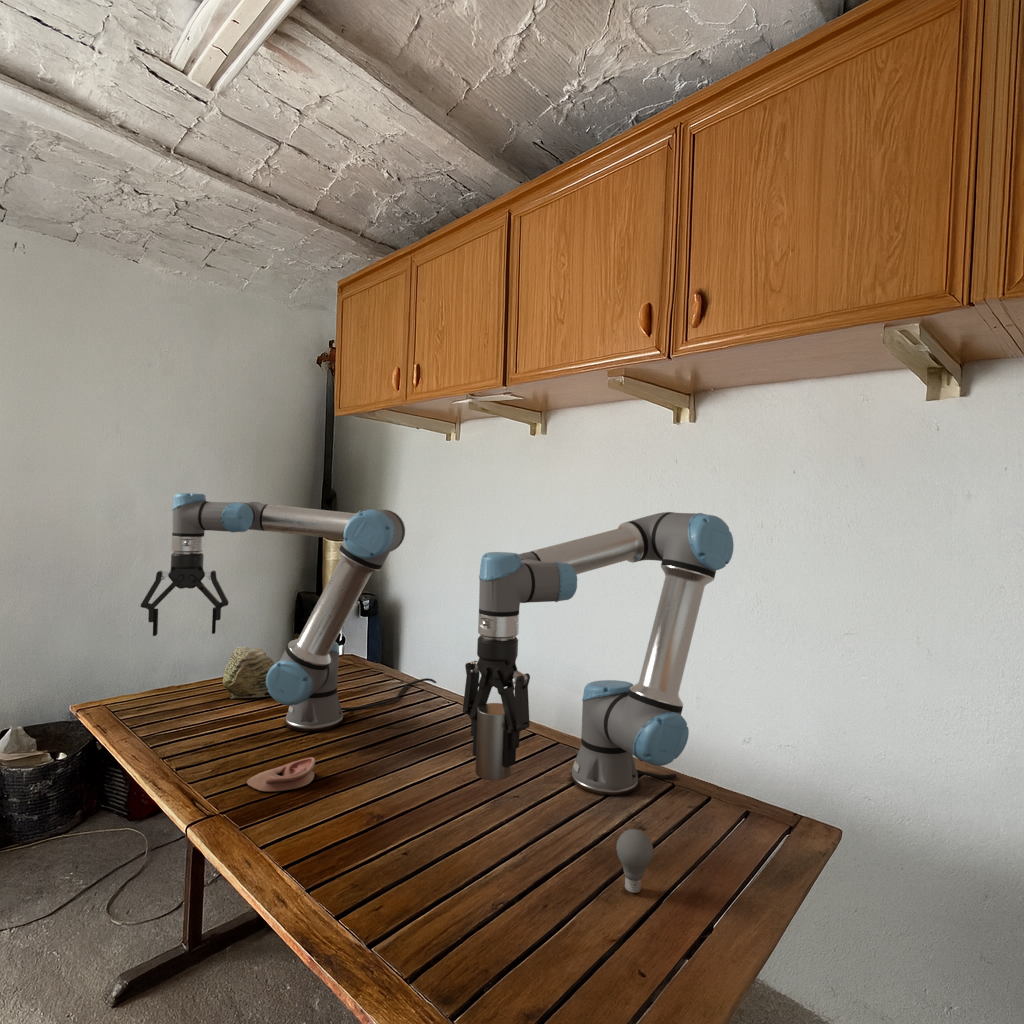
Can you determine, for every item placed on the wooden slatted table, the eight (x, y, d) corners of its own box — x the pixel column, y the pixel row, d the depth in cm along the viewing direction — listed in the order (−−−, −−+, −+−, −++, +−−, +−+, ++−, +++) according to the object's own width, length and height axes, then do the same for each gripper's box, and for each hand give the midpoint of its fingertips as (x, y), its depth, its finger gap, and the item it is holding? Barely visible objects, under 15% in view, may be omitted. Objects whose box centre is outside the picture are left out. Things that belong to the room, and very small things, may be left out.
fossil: (218, 695, 195) (220, 647, 195) (278, 685, 208) (279, 640, 207) (228, 703, 189) (230, 653, 188) (289, 692, 201) (290, 645, 201)
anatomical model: (238, 769, 136) (269, 749, 147) (238, 787, 136) (269, 766, 147) (295, 777, 133) (322, 756, 144) (294, 796, 133) (321, 773, 144)
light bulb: (610, 879, 108) (613, 822, 108) (644, 879, 109) (647, 822, 109) (619, 902, 102) (622, 840, 102) (655, 901, 103) (658, 840, 103)
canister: (515, 778, 116) (518, 713, 115) (481, 782, 113) (483, 716, 113) (504, 763, 122) (506, 701, 122) (471, 767, 120) (473, 704, 119)
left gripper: (129, 553, 156) (126, 638, 157) (239, 554, 166) (236, 634, 166) (134, 550, 163) (132, 632, 163) (240, 551, 173) (237, 628, 173)
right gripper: (445, 630, 120) (441, 750, 121) (528, 648, 108) (524, 782, 109) (471, 625, 126) (467, 739, 127) (553, 641, 114) (548, 768, 115)
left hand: (184, 633), depth 165 cm, fingers open, 13 cm apart
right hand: (493, 759), depth 118 cm, fingers closed on canister, 7 cm apart
